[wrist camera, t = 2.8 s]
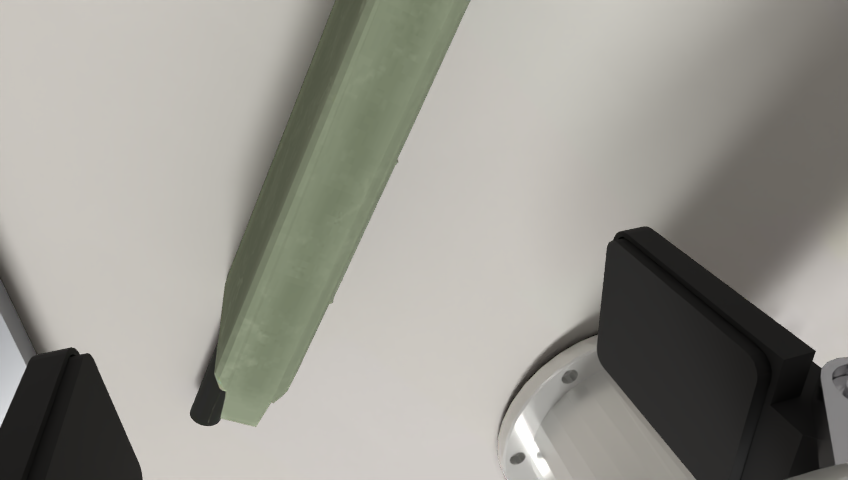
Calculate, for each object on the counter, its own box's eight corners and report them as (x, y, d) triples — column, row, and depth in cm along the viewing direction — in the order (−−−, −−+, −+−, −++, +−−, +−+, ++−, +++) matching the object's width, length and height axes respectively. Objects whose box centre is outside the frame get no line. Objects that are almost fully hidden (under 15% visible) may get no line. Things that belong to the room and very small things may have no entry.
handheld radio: (504, -185, 19) (246, 404, 27) (415, -247, 18) (170, 389, 26) (605, -240, 14) (240, 531, 21) (484, -337, 12) (142, 519, 20)
